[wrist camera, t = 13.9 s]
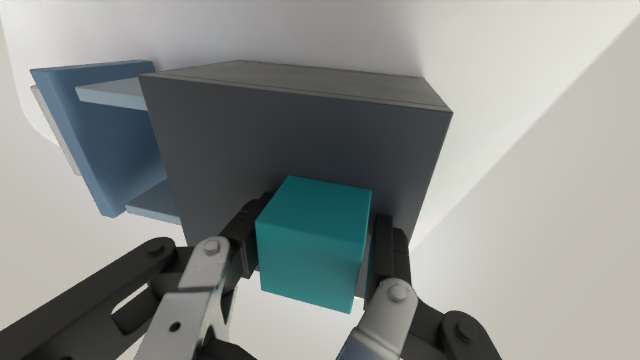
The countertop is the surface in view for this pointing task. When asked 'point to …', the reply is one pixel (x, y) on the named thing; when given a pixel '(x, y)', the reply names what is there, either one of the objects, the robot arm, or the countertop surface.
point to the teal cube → (313, 242)
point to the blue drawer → (108, 135)
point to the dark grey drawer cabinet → (293, 138)
